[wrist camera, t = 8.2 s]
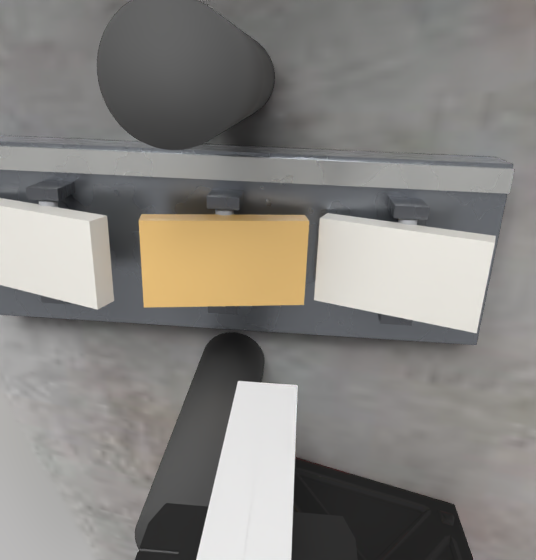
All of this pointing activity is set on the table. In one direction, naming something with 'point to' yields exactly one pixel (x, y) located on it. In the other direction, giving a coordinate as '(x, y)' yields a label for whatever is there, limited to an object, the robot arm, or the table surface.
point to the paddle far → (55, 252)
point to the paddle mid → (223, 259)
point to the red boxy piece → (381, 515)
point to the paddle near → (403, 269)
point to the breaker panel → (248, 201)
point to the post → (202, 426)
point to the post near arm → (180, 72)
